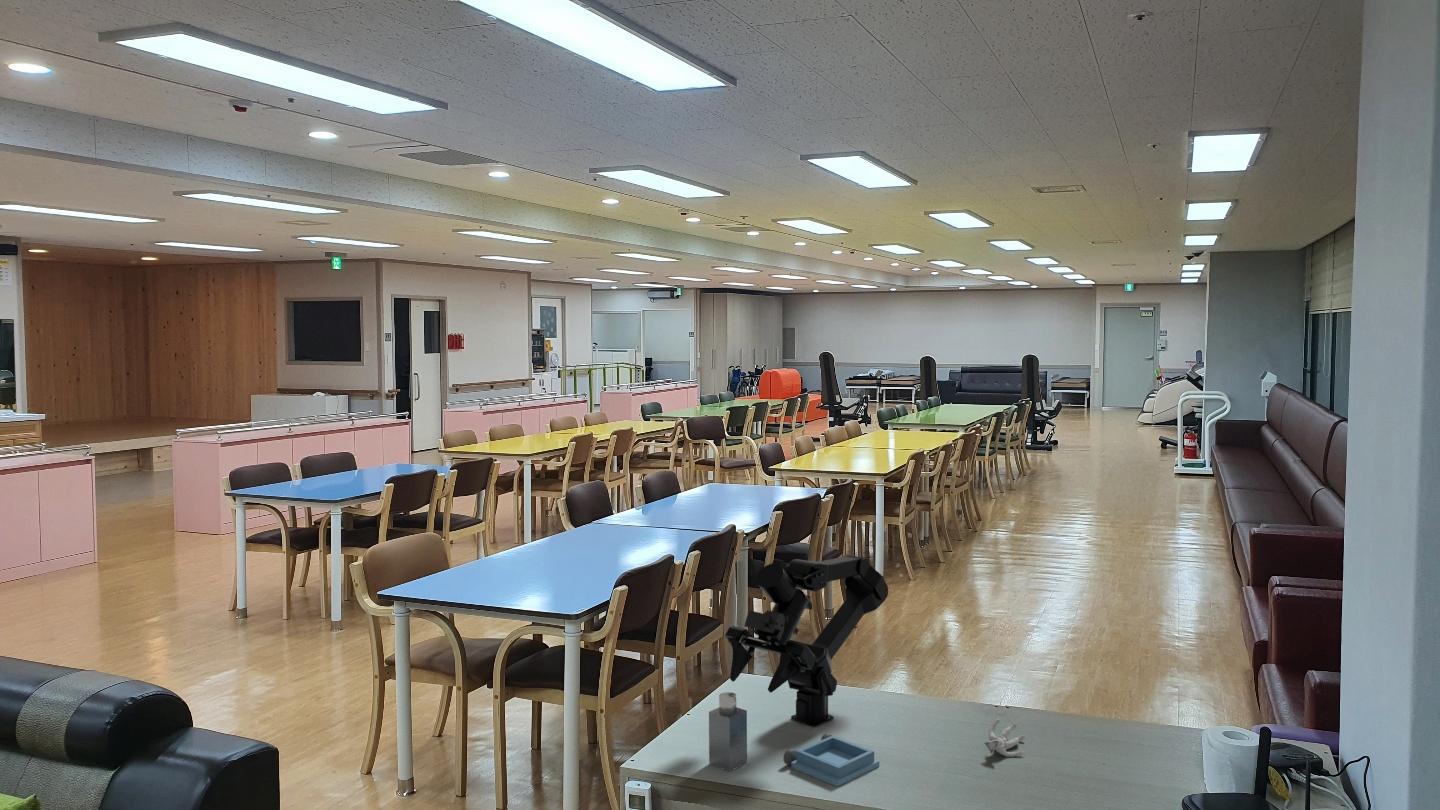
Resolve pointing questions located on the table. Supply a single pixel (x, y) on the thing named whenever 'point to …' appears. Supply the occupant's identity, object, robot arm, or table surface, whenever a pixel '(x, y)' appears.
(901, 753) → the table surface
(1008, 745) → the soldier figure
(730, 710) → the square bottle with cap
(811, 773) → the chassis
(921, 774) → the table surface
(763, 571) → the robot arm
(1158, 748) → the table surface
